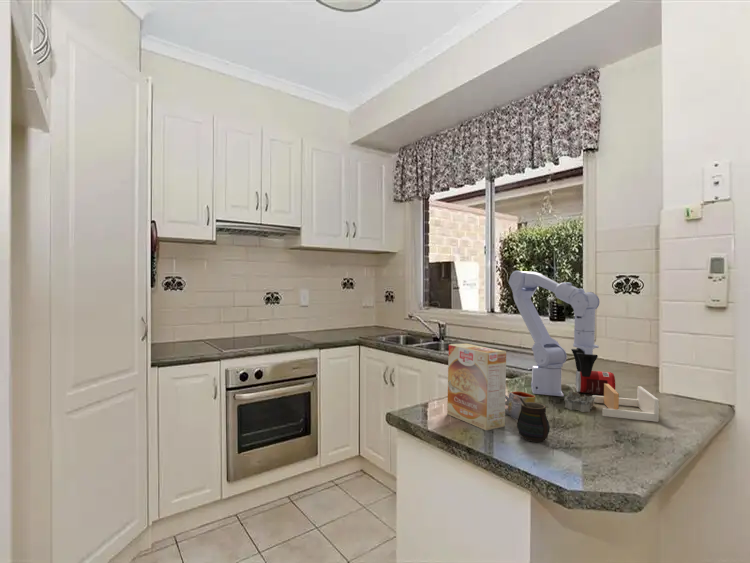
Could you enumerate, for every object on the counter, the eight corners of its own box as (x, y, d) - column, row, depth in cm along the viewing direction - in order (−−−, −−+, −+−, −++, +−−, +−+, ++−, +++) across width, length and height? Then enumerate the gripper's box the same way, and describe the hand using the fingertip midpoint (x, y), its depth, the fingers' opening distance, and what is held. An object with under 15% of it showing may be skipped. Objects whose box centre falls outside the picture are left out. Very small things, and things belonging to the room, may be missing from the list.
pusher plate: (613, 414, 118) (614, 393, 118) (603, 402, 130) (604, 383, 130) (618, 415, 118) (618, 393, 118) (608, 403, 130) (608, 383, 130)
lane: (602, 415, 118) (603, 394, 118) (592, 401, 132) (592, 382, 132) (658, 421, 113) (658, 399, 114) (640, 406, 128) (641, 386, 128)
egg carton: (571, 401, 133) (571, 388, 133) (597, 406, 128) (597, 393, 128) (561, 408, 125) (561, 395, 125) (588, 414, 120) (589, 399, 120)
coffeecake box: (446, 414, 116) (447, 344, 116) (465, 410, 120) (466, 342, 120) (485, 431, 103) (487, 352, 103) (506, 426, 107) (507, 350, 107)
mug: (539, 417, 115) (539, 393, 115) (531, 423, 110) (532, 398, 110) (497, 409, 122) (497, 386, 122) (487, 414, 117) (488, 390, 117)
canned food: (610, 374, 146) (575, 371, 149) (614, 370, 138) (578, 367, 142) (611, 396, 143) (575, 393, 147) (616, 394, 136) (578, 390, 140)
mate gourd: (556, 441, 97) (557, 398, 97) (535, 447, 94) (536, 402, 94) (530, 431, 104) (531, 391, 104) (509, 436, 100) (510, 394, 100)
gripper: (604, 334, 123) (603, 380, 123) (593, 329, 137) (592, 370, 137) (578, 332, 125) (577, 378, 125) (569, 327, 139) (568, 368, 139)
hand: (583, 374), depth 131 cm, fingers open, 7 cm apart
